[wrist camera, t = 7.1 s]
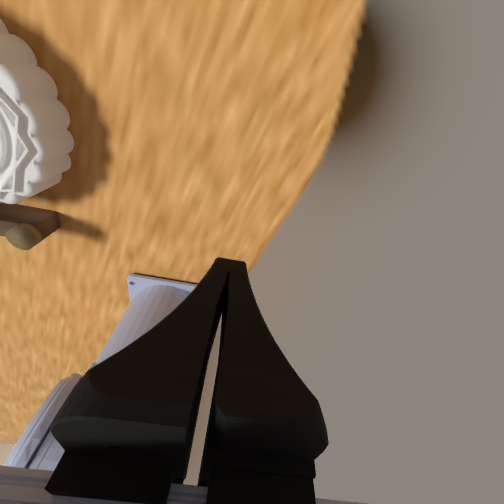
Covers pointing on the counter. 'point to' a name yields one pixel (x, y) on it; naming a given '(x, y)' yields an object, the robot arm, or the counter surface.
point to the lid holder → (26, 224)
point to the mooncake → (29, 124)
